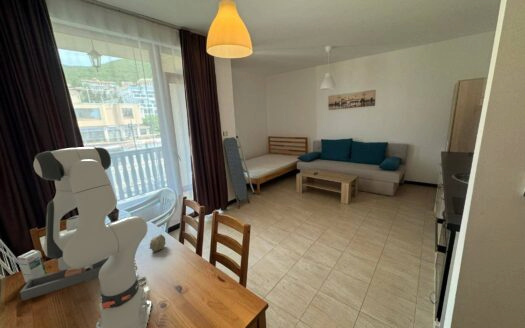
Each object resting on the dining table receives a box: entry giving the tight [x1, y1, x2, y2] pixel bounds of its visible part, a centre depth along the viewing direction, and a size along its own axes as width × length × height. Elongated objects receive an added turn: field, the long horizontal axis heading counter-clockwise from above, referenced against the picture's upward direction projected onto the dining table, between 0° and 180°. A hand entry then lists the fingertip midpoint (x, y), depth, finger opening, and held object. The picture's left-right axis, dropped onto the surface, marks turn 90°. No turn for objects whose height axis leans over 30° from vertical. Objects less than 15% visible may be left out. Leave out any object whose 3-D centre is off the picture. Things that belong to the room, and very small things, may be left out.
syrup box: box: [17, 249, 48, 284], centre depth 102 cm, size 6×6×14 cm
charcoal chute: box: [19, 258, 109, 302], centre depth 102 cm, size 9×32×4 cm, turn 120°
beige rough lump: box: [149, 234, 167, 252], centre depth 124 cm, size 9×8×10 cm
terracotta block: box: [65, 268, 85, 277], centre depth 102 cm, size 6×6×4 cm
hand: (88, 270), depth 105 cm, fingers closed
